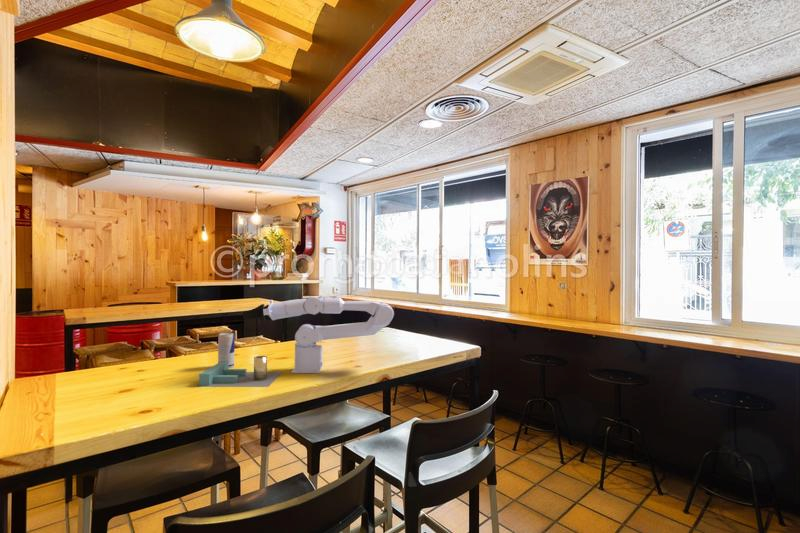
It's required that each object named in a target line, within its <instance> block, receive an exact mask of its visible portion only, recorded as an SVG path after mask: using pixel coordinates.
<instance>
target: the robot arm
mask: <svg viewBox="0 0 800 533" xmlns="http://www.w3.org/2000/svg"><path fill="white" fill-rule="evenodd" d="M343 311H360V312H367V313H368V314H370V315H371V316H370V317H369V319H368V320H367V321H362V322H352V323H351V322H350V323H343V324H333V325H312V324H310V323H305V324H302V325H301V326H299V328H298V330H296V332H295V334H294V341H295V342H296V343H295V342H294V368H293V369H292V370H291V374H320V372H321V371H322V369H323V367H324V366H323V364H324V363H323V358H324V357H323V356H324V352H323V346H322V345H321V344H317V343H319V342H322V341H325V340H337V339H346V338H347V339H349V338H357V337H367V336H374V335H376V334H377V333H379V331H381V330H382V329H383V328H385V327H387V326H389V325H390V323H391V322H392V320H393V318H394V316H395V311H394V309H393V308H392V306H391V305H390V304H388V303H387V302H380V301H374V300H343V299H342V298H341V297H340V296H338V295H333V296H331V297H330V296H329V297H328V296H323V295H319V297H318V296H313V295H311V296H309V297H307V298H301V299H299V298H298V299H290V300H284V301H278V302H274V300H273V299H270V300H269V304H267V305H265V303H261V304H260V305H258V306H257V307H254V308H253V309H249V310H246V311H244V312H242V319H244V320H257V321H258V320H259V321H261V322H262V321H263V322H265V321H266V320H268V321H276V320H280V319H286V318H293V317H298V316H302V315H306V314H307V315H308V314H309V315H310V314H311V315H314V316H315V315H317V314H319V313H321V314H335V315H336V314H339V315H340V314H341V313H342V312H343Z"/></svg>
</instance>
